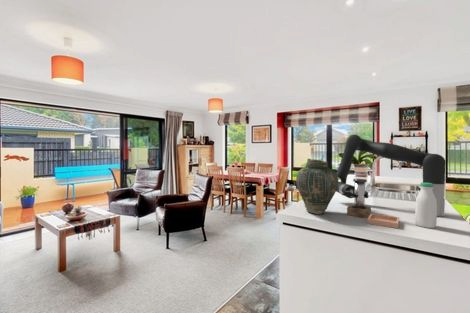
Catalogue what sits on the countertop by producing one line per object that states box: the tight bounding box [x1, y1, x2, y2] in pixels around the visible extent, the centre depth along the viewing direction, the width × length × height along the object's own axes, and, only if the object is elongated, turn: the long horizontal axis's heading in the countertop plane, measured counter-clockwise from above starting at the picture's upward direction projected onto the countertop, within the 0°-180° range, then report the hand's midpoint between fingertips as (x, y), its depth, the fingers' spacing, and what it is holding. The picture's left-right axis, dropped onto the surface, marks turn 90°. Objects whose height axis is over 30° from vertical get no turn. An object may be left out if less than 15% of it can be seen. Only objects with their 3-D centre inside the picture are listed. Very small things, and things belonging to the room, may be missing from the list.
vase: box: [295, 158, 339, 215], centre depth 132 cm, size 22×22×30 cm
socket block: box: [346, 203, 372, 219], centre depth 128 cm, size 10×10×4 cm
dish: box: [366, 212, 400, 230], centre depth 114 cm, size 12×12×2 cm
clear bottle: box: [352, 178, 368, 209], centre depth 128 cm, size 6×6×19 cm
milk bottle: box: [414, 182, 438, 229], centre depth 109 cm, size 8×8×20 cm
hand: (362, 196), depth 125 cm, fingers closed on clear bottle, 5 cm apart
